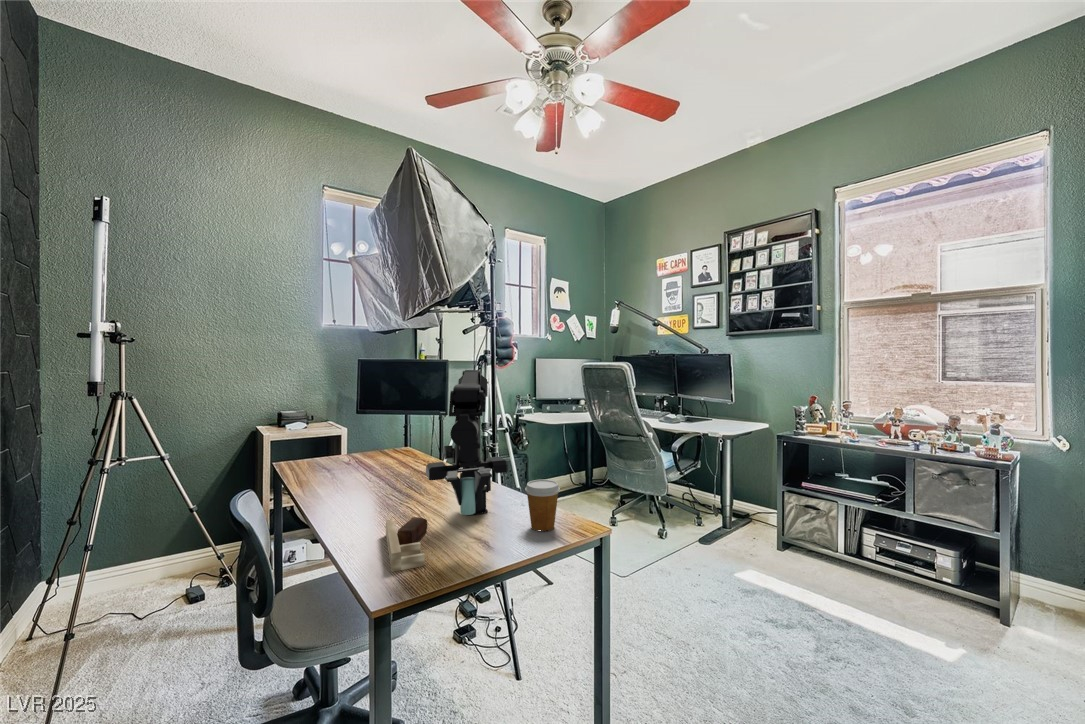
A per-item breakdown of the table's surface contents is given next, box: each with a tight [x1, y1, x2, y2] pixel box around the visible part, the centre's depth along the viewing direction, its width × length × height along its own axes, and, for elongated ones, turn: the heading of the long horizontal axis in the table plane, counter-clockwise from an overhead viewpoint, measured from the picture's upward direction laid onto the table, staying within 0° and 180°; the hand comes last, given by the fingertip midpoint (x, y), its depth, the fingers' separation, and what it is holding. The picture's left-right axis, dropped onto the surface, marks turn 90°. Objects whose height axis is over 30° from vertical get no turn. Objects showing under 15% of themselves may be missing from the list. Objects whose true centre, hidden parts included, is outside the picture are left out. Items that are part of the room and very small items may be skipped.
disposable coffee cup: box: [524, 479, 561, 532], centre depth 120 cm, size 10×10×12 cm
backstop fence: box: [385, 518, 426, 573], centre depth 107 cm, size 7×22×4 cm, turn 23°
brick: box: [397, 516, 428, 545], centre depth 112 cm, size 11×4×5 cm, turn 174°
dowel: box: [459, 477, 475, 516], centre depth 104 cm, size 4×4×8 cm
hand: (467, 503), depth 104 cm, fingers closed on dowel, 3 cm apart
